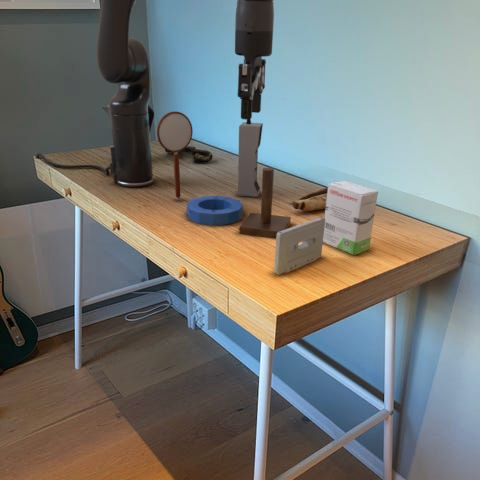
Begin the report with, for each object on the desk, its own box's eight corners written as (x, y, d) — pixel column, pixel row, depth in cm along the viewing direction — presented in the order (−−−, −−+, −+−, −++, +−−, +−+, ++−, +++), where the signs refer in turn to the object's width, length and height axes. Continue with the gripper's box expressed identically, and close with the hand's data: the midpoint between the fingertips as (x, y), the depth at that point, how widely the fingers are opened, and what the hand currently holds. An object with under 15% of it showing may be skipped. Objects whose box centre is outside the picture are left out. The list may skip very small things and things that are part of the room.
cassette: (279, 276, 85) (282, 235, 81) (271, 272, 86) (274, 231, 82) (323, 257, 92) (328, 218, 88) (315, 254, 93) (320, 215, 89)
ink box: (369, 249, 96) (380, 190, 90) (353, 256, 93) (362, 195, 87) (336, 236, 101) (344, 179, 95) (320, 241, 99) (326, 183, 93)
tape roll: (180, 221, 107) (179, 210, 105) (198, 204, 116) (198, 193, 115) (233, 228, 104) (233, 216, 103) (247, 209, 114) (247, 198, 112)
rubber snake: (215, 145, 146) (184, 151, 142) (216, 161, 148) (186, 167, 144) (189, 135, 159) (160, 141, 155) (191, 150, 162) (163, 156, 158)
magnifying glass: (163, 204, 116) (157, 113, 105) (160, 202, 117) (154, 112, 106) (195, 198, 120) (193, 110, 109) (192, 196, 121) (189, 109, 110)
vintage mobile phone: (257, 197, 121) (261, 86, 108) (237, 196, 122) (239, 85, 109) (260, 193, 125) (264, 84, 111) (240, 191, 125) (242, 83, 112)
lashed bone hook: (334, 196, 125) (276, 206, 116) (336, 178, 122) (278, 186, 114) (360, 206, 118) (301, 217, 109) (363, 186, 116) (303, 196, 107)
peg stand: (239, 233, 102) (240, 172, 95) (250, 218, 109) (251, 161, 102) (282, 238, 100) (286, 177, 93) (290, 223, 107) (294, 165, 100)
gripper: (244, 26, 104) (242, 109, 113) (226, 28, 92) (225, 120, 101) (279, 28, 102) (274, 111, 111) (265, 30, 91) (260, 123, 99)
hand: (250, 115), depth 106 cm, fingers open, 8 cm apart
